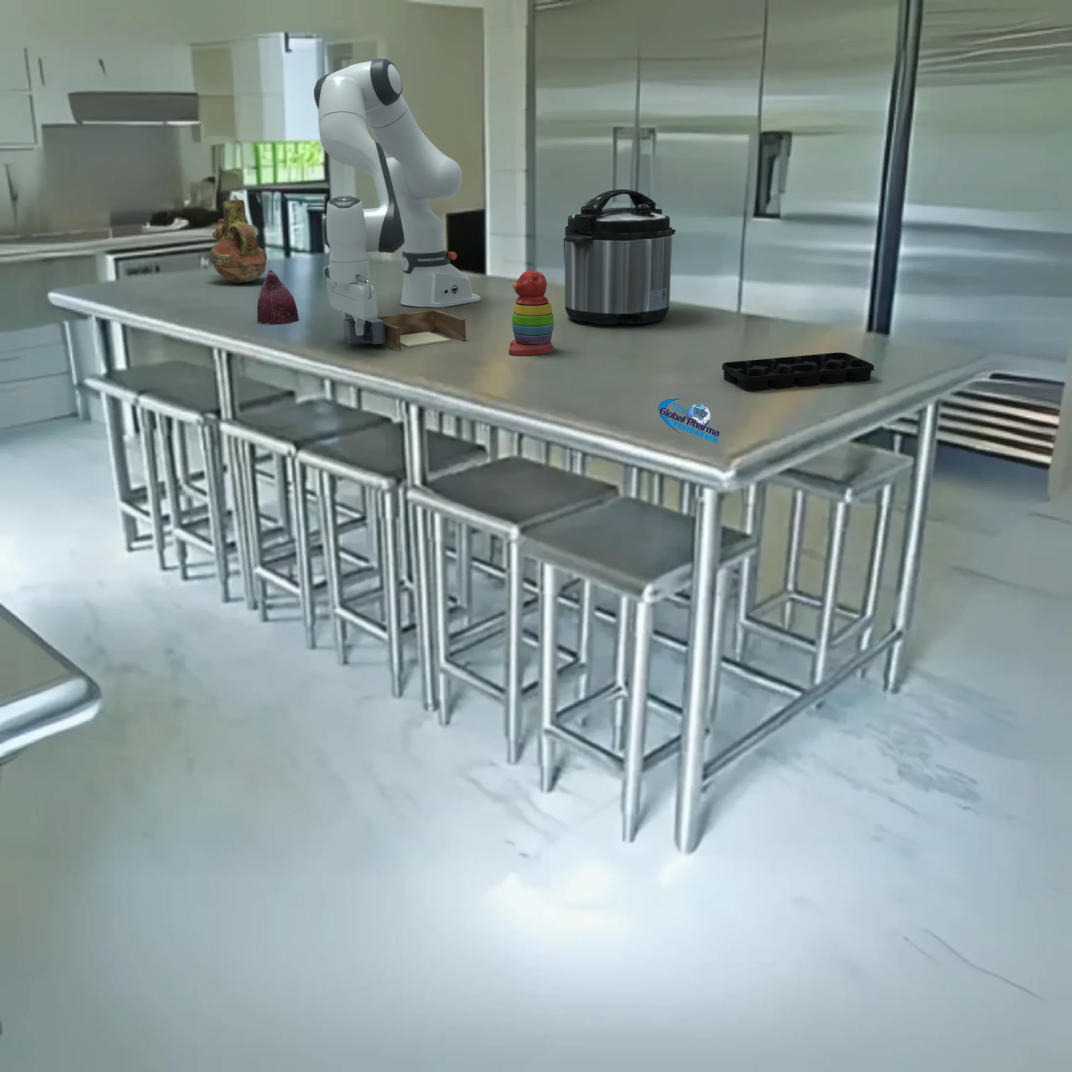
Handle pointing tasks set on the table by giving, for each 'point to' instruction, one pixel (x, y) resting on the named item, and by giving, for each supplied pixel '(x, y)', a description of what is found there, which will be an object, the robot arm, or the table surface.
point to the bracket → (365, 331)
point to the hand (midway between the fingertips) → (355, 333)
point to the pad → (421, 339)
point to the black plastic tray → (797, 371)
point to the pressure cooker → (618, 261)
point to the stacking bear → (531, 316)
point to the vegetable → (275, 302)
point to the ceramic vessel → (237, 246)
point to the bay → (421, 325)
